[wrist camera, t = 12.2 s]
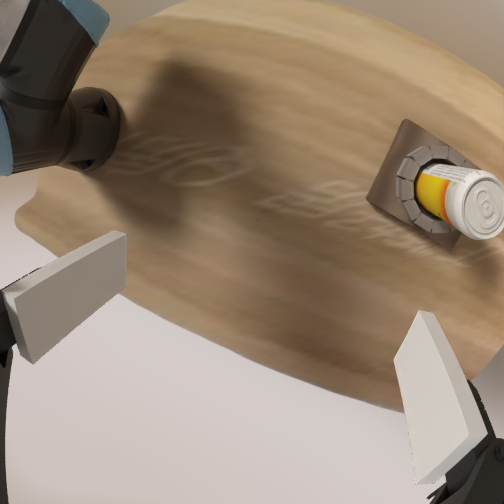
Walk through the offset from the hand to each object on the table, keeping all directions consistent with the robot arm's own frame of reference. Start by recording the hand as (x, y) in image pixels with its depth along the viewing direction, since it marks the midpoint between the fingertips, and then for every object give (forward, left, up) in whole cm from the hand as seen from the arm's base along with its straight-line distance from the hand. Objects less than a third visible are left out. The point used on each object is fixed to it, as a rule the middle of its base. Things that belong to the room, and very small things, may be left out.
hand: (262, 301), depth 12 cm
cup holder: (+14, +9, -30) cm, 34 cm away
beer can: (+14, +9, -27) cm, 32 cm away
